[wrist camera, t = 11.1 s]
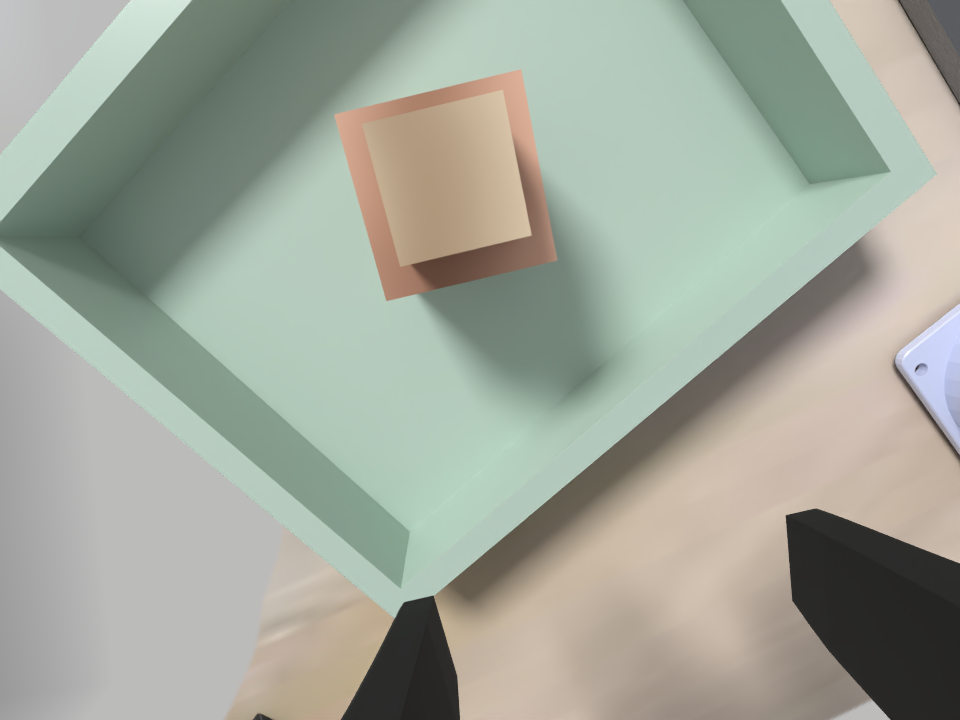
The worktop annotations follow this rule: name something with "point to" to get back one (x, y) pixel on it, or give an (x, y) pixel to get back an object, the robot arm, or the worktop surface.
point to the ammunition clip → (260, 717)
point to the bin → (450, 310)
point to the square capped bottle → (449, 184)
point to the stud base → (939, 34)
